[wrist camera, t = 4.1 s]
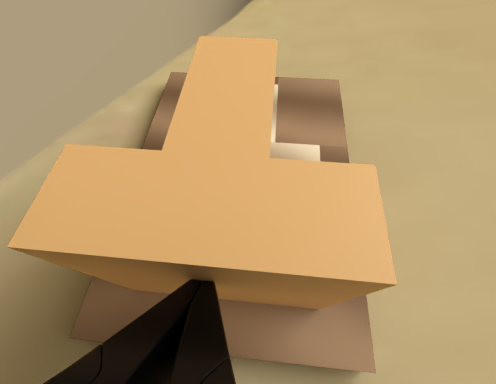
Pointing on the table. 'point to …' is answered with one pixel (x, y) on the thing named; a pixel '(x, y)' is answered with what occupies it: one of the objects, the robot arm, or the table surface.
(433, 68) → the table surface
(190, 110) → the t block
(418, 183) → the table surface
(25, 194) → the table surface
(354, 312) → the board
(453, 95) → the table surface
